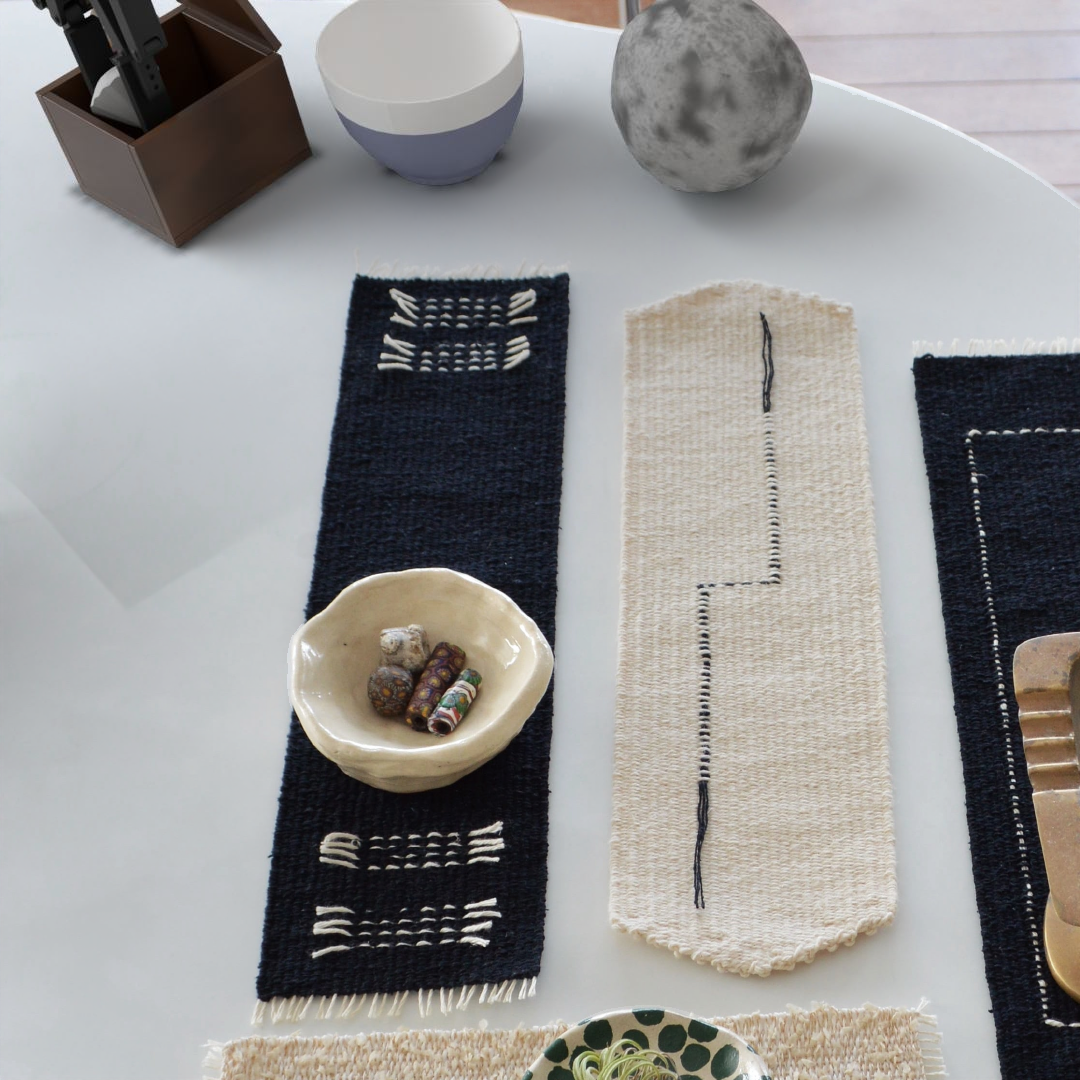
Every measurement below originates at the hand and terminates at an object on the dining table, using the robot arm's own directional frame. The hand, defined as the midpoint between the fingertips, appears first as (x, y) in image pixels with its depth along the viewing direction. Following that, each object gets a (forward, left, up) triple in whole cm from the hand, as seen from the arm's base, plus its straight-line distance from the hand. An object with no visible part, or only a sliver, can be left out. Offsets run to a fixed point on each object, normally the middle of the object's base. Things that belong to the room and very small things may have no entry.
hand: (138, 117), depth 112 cm
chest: (+2, +2, -7) cm, 7 cm away
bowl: (+22, +2, -7) cm, 23 cm away
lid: (+5, +5, +10) cm, 12 cm away
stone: (+44, -5, -7) cm, 45 cm away
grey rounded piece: (0, 0, 0) cm, 0 cm away
